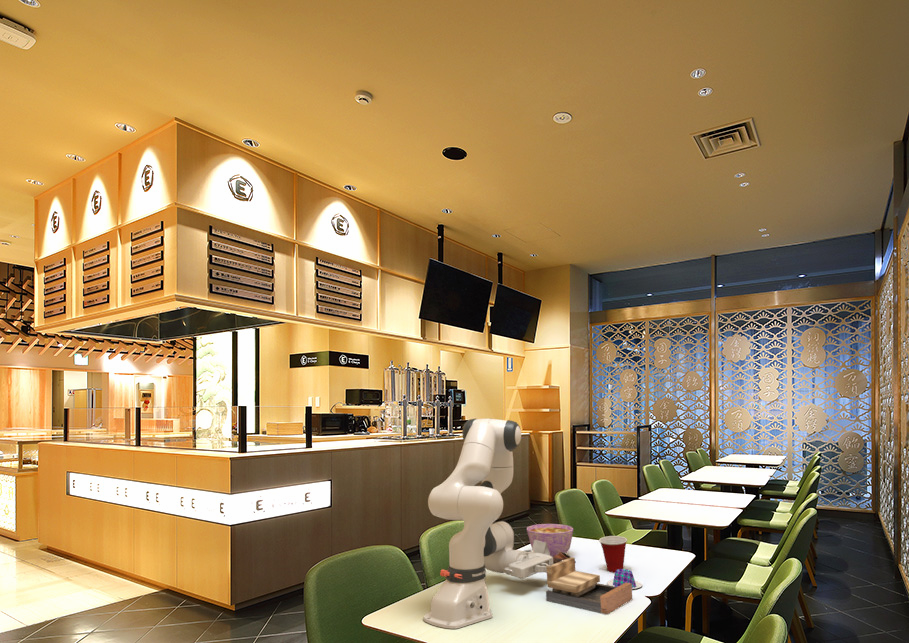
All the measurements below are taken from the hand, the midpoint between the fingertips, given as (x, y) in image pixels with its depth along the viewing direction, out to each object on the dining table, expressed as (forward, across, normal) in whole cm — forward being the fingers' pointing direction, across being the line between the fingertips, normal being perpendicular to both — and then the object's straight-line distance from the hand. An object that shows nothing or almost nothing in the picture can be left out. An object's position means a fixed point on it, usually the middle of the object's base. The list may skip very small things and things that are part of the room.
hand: (550, 569), depth 208 cm
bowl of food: (-26, +42, +8) cm, 50 cm away
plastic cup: (+6, +37, +8) cm, 38 cm away
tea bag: (-20, +25, +8) cm, 33 cm away
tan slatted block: (+9, 0, +6) cm, 11 cm away
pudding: (+17, +22, +8) cm, 29 cm away
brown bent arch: (-10, +23, +8) cm, 27 cm away
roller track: (+15, 0, +8) cm, 16 cm away
